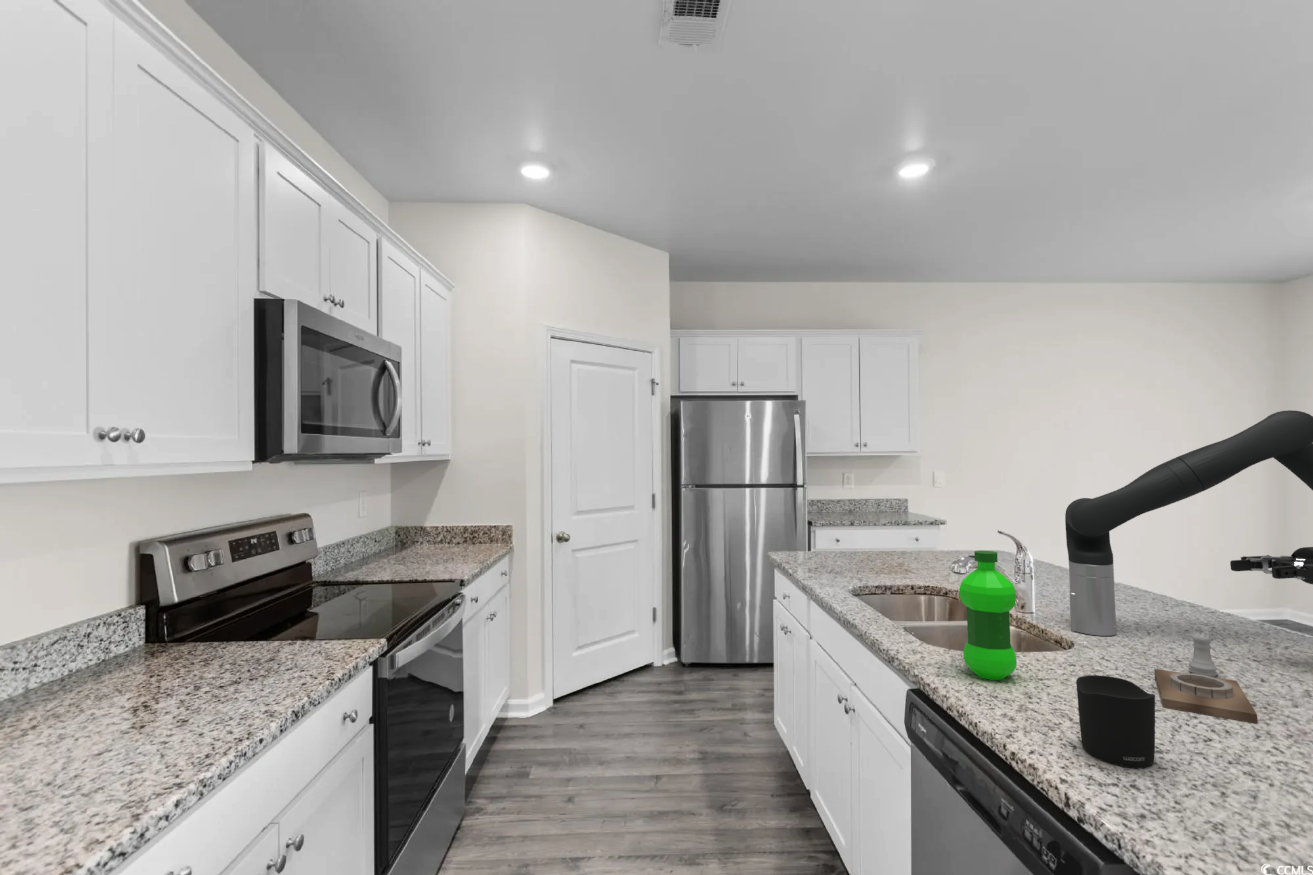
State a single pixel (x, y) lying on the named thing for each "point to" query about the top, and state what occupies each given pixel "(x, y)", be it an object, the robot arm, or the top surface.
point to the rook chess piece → (1202, 656)
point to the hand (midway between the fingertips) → (1252, 569)
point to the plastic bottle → (988, 619)
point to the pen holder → (1116, 720)
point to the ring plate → (1204, 695)
